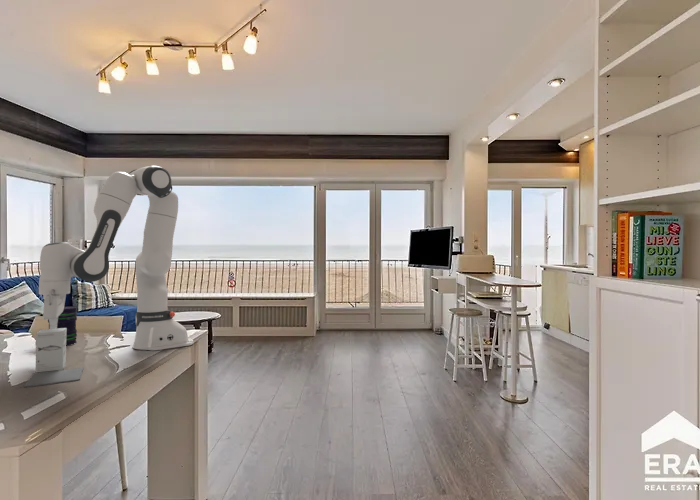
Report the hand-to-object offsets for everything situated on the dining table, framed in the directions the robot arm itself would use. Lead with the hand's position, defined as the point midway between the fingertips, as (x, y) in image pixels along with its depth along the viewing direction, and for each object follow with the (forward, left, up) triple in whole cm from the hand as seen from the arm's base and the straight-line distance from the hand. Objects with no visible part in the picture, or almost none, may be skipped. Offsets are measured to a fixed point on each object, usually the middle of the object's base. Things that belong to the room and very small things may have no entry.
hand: (53, 329), depth 141 cm
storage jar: (0, -33, -12) cm, 35 cm away
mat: (-3, +21, -11) cm, 24 cm away
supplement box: (-1, +9, -12) cm, 15 cm away
